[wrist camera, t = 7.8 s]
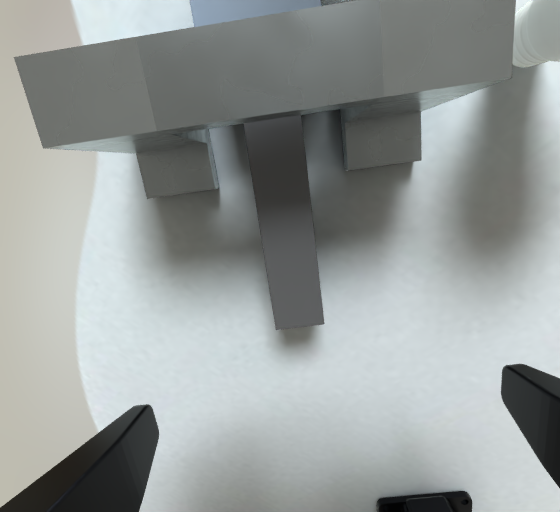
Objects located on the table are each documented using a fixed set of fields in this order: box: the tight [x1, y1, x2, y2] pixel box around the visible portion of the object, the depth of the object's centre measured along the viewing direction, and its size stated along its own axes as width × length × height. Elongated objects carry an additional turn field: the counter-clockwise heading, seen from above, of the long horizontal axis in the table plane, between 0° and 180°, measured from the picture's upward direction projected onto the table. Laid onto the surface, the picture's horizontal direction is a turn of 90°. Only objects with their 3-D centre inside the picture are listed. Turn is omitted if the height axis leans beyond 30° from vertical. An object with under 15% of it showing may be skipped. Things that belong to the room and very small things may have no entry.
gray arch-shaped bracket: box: [14, 0, 516, 199], centre depth 13 cm, size 7×14×8 cm, turn 98°
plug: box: [190, 0, 324, 330], centre depth 15 cm, size 16×4×5 cm, turn 8°
